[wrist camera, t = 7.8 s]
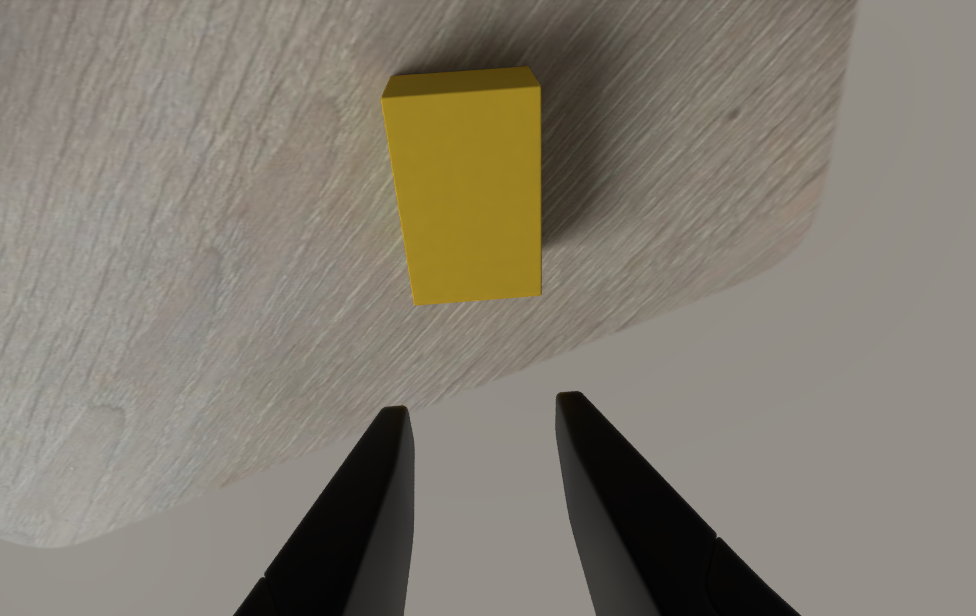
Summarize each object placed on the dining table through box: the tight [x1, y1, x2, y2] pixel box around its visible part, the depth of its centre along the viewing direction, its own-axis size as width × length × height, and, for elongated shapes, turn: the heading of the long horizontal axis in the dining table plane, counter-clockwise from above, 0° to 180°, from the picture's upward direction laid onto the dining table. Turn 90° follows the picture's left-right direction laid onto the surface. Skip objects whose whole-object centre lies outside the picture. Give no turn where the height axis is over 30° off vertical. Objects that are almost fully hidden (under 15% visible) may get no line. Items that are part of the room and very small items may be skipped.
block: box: [381, 66, 542, 305], centre depth 18 cm, size 7×4×3 cm, turn 3°
